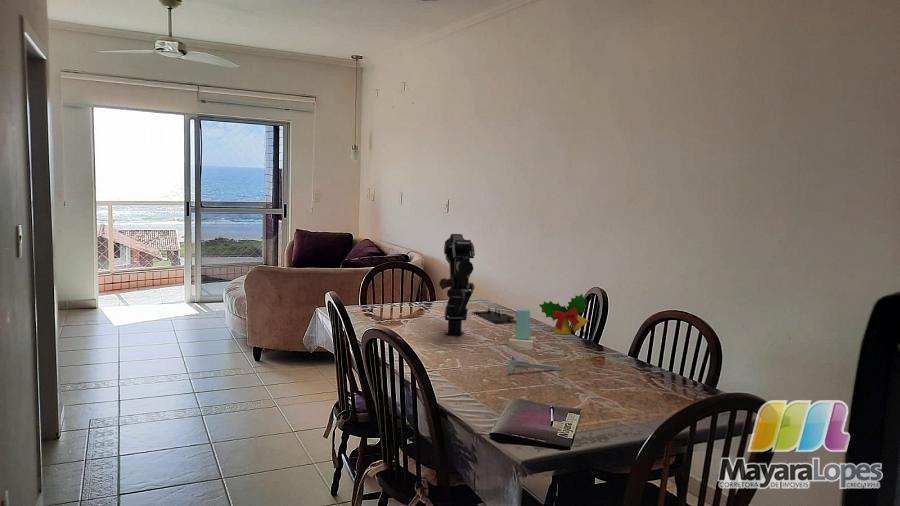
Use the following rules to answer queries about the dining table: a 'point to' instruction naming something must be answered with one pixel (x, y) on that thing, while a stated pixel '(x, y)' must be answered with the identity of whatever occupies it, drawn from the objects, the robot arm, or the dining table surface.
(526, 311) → the teal block
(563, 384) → the dining table surface
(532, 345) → the birch block
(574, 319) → the ornament
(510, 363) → the caliper
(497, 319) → the circuit board
